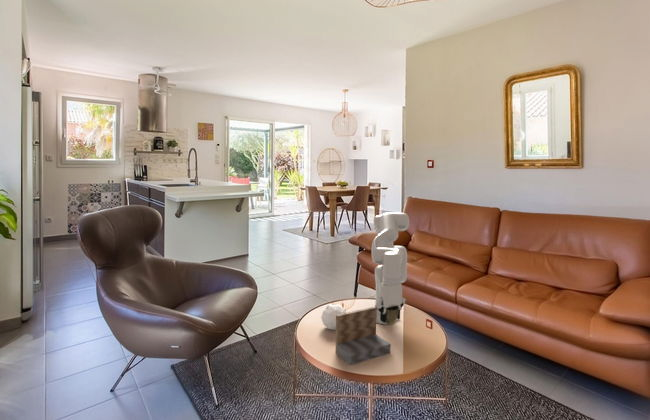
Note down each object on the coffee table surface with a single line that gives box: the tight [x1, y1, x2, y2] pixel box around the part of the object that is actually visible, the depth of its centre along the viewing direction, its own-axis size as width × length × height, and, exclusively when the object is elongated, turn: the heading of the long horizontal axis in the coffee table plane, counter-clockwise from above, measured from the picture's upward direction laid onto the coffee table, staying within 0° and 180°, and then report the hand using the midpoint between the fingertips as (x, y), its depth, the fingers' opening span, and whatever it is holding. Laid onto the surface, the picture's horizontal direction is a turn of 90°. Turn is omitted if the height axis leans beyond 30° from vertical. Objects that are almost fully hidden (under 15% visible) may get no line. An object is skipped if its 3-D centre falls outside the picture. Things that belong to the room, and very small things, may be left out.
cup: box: [383, 306, 399, 326], centre depth 158 cm, size 8×7×8 cm
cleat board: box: [334, 306, 391, 366], centre depth 166 cm, size 22×12×18 cm, turn 119°
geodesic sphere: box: [320, 303, 346, 331], centre depth 191 cm, size 14×14×14 cm
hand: (390, 319), depth 158 cm, fingers closed on cup, 7 cm apart
